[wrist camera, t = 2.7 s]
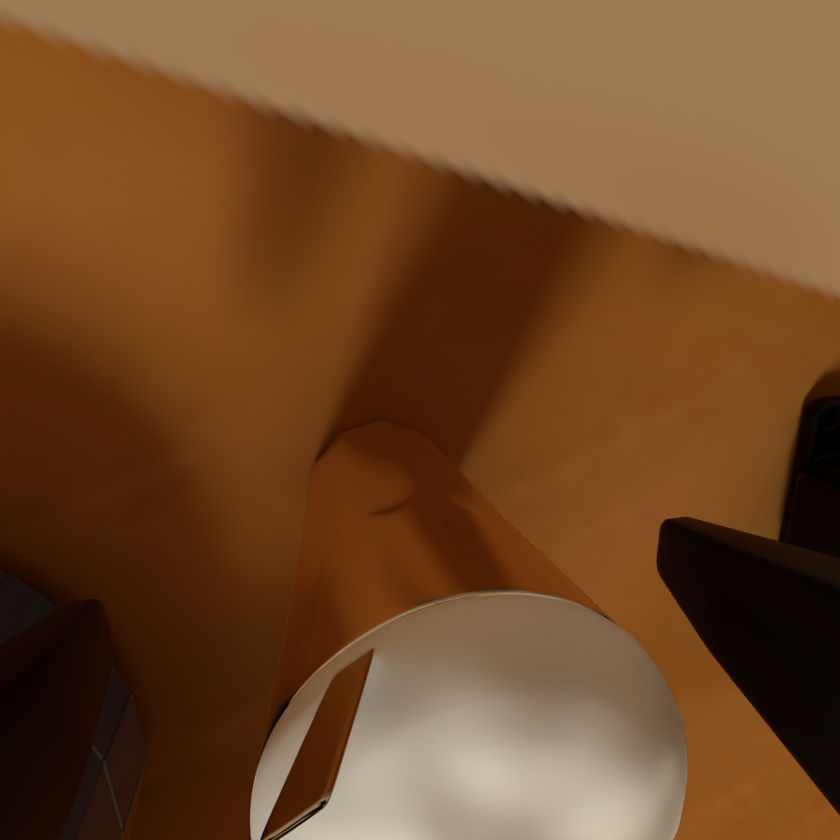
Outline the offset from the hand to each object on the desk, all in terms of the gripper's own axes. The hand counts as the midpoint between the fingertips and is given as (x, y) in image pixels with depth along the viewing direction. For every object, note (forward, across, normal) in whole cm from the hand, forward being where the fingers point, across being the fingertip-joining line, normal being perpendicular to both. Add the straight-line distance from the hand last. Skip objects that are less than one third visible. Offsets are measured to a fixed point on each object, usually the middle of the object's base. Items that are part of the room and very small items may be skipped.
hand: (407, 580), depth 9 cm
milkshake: (+5, 0, 0) cm, 5 cm away
